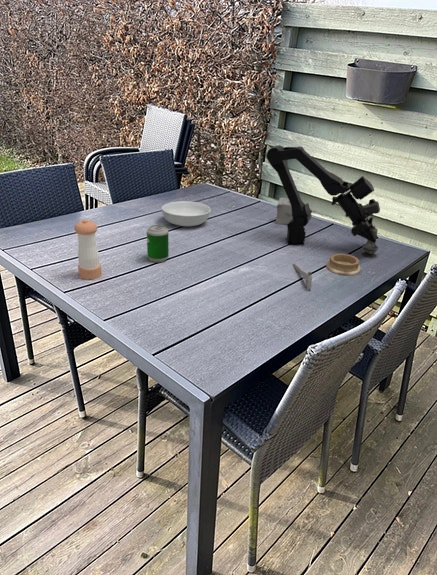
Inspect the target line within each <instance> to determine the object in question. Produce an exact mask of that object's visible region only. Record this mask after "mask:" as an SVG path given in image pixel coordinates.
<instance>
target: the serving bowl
mask: <svg viewBox="0 0 437 575" xmlns="http://www.w3.org/2000/svg"><path fill="white" fill-rule="evenodd" d="M211 211H212V210H211V208H210V206H208V205H206V204H205V203H202V202H199V201H198V202H197V201H189V200H188V201H187V200H180V201H179V200H178V201H172V202H167V203H165V204H163V205H162V206H161V212H162V215H163V218H164V219H165V221H167V222H169V223H170V224H173V225H176V226H180V227H194V226H199V225H201V224H203V223H205V222H206V221H207V220H208V219H209V217H210V215H211Z"/></svg>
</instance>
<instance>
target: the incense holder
mask: <svg viewBox="0 0 437 575" xmlns="http://www.w3.org/2000/svg"><path fill="white" fill-rule="evenodd" d="M276 210H277V211H276V219H275V224H276V225H281V224H282V225H287V224H288V223H289V222H290V221H291V220H292V218H293V217H292V208H291V204H290V202H289V199H288V197H287V198H285V197H279V198H278V202H277V205H276Z"/></svg>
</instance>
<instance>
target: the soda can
mask: <svg viewBox="0 0 437 575" xmlns="http://www.w3.org/2000/svg"><path fill="white" fill-rule="evenodd" d="M169 243H170V242H169V229H168V228H167V227H166V226H165V225H162V224H153V225H150V226H149V228H147V229H146V245H147V246H146V247H147V249H146V250H147V253H146V254H147V258H148V260H150V261H151V262H153V263H163V262H166V261H167V259H168V258H169V256H170V254H169V251H170V250H169Z"/></svg>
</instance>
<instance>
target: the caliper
mask: <svg viewBox="0 0 437 575" xmlns="http://www.w3.org/2000/svg"><path fill="white" fill-rule="evenodd" d="M292 266H293V267H294V269H295V270H296V271H297V272H298V273H299V274H300V275H301V276H302V280H303V281H304V280H305V281H304V282H305V289H306V290H307V291H312V290H311V289H312V279H313V277H312V271H309V270H304V269H303V267H301V266H300V265H299V264H298V263H296V262H295V263H292Z"/></svg>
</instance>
